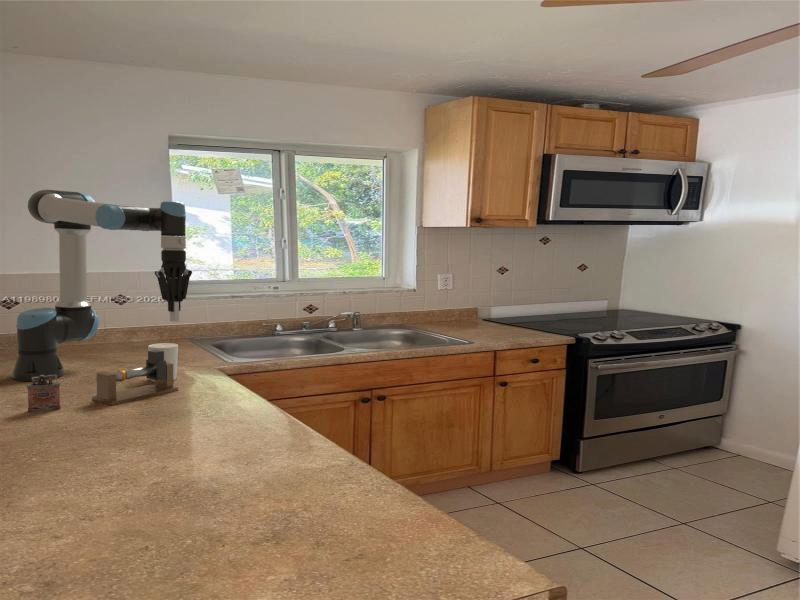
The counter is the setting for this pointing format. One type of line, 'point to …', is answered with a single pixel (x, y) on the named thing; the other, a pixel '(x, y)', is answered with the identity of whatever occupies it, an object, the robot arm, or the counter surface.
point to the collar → (157, 364)
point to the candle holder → (168, 354)
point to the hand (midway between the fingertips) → (174, 321)
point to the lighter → (43, 394)
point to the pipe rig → (111, 397)
